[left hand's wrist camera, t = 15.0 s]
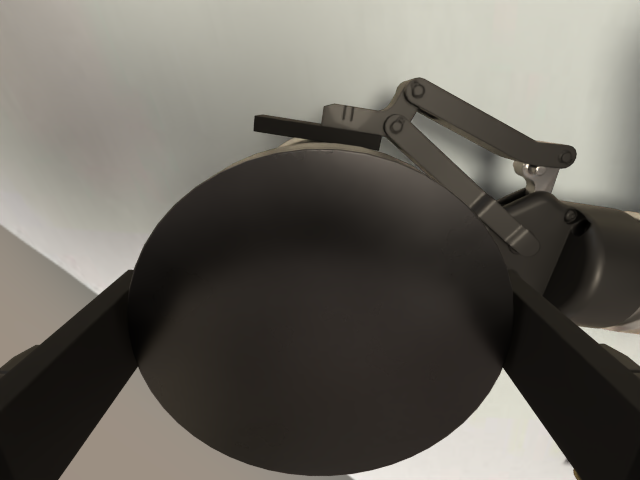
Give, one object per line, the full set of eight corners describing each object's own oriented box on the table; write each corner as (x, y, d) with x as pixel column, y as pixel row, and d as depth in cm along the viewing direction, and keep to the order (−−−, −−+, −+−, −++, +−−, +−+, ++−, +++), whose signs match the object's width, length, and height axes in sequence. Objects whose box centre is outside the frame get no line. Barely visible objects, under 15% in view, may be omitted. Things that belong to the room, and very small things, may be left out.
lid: (187, 445, 14) (172, 483, 13) (108, 156, 10) (73, 163, 9) (474, 432, 14) (492, 469, 13) (512, 129, 10) (545, 133, 9)
